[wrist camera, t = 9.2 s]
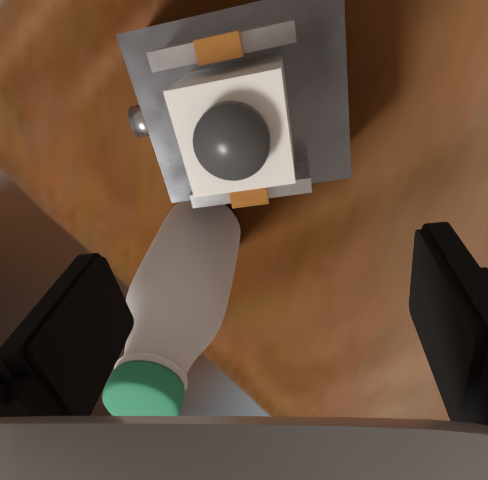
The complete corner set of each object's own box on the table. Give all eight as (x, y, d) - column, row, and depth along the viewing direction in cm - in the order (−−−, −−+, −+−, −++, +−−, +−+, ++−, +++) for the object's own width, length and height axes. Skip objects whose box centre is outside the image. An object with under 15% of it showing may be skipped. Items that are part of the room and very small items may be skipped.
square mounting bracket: (331, -15, 25) (357, -25, 17) (340, 150, 32) (362, 207, 23) (122, 34, 28) (48, 48, 19) (168, 176, 34) (128, 236, 26)
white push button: (281, 53, 23) (280, 70, 17) (293, 146, 26) (296, 189, 20) (190, 71, 24) (158, 94, 18) (211, 158, 27) (191, 203, 21)
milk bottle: (174, 183, 35) (73, 349, 18) (250, 206, 35) (221, 387, 19) (162, 246, 39) (71, 427, 22) (230, 266, 40) (192, 456, 23)
